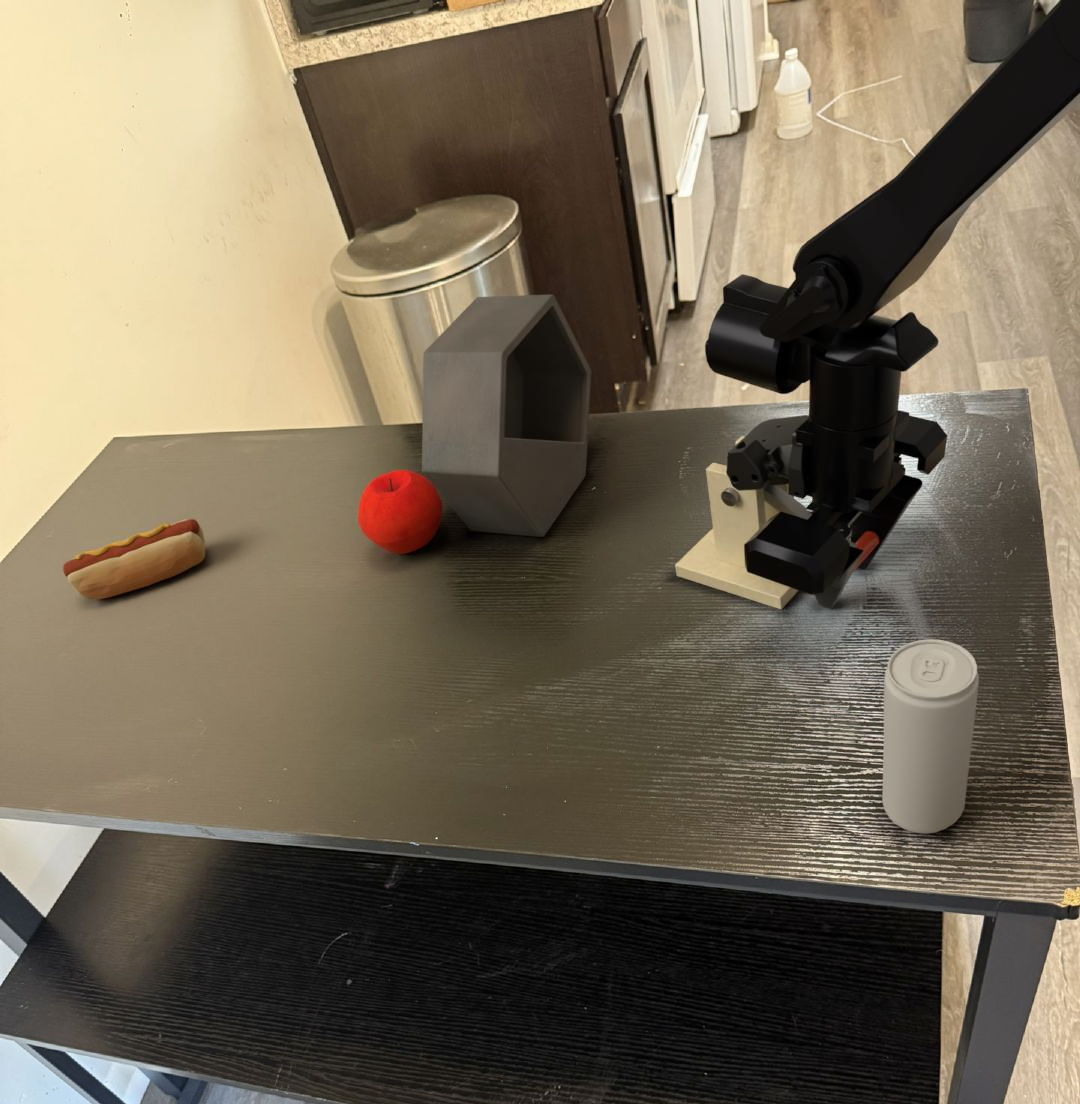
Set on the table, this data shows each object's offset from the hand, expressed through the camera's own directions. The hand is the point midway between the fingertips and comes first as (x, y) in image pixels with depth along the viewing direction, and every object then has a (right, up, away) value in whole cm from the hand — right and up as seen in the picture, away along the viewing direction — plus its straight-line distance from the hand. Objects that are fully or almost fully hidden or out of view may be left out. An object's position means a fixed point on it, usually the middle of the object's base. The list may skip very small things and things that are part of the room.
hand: (843, 586), depth 79 cm
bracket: (-6, +3, +4) cm, 8 cm away
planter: (-24, +11, +19) cm, 33 cm away
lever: (-4, +5, -1) cm, 6 cm away
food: (-63, +4, +24) cm, 68 cm away
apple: (-36, +6, +18) cm, 40 cm away
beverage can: (0, -16, -16) cm, 23 cm away
